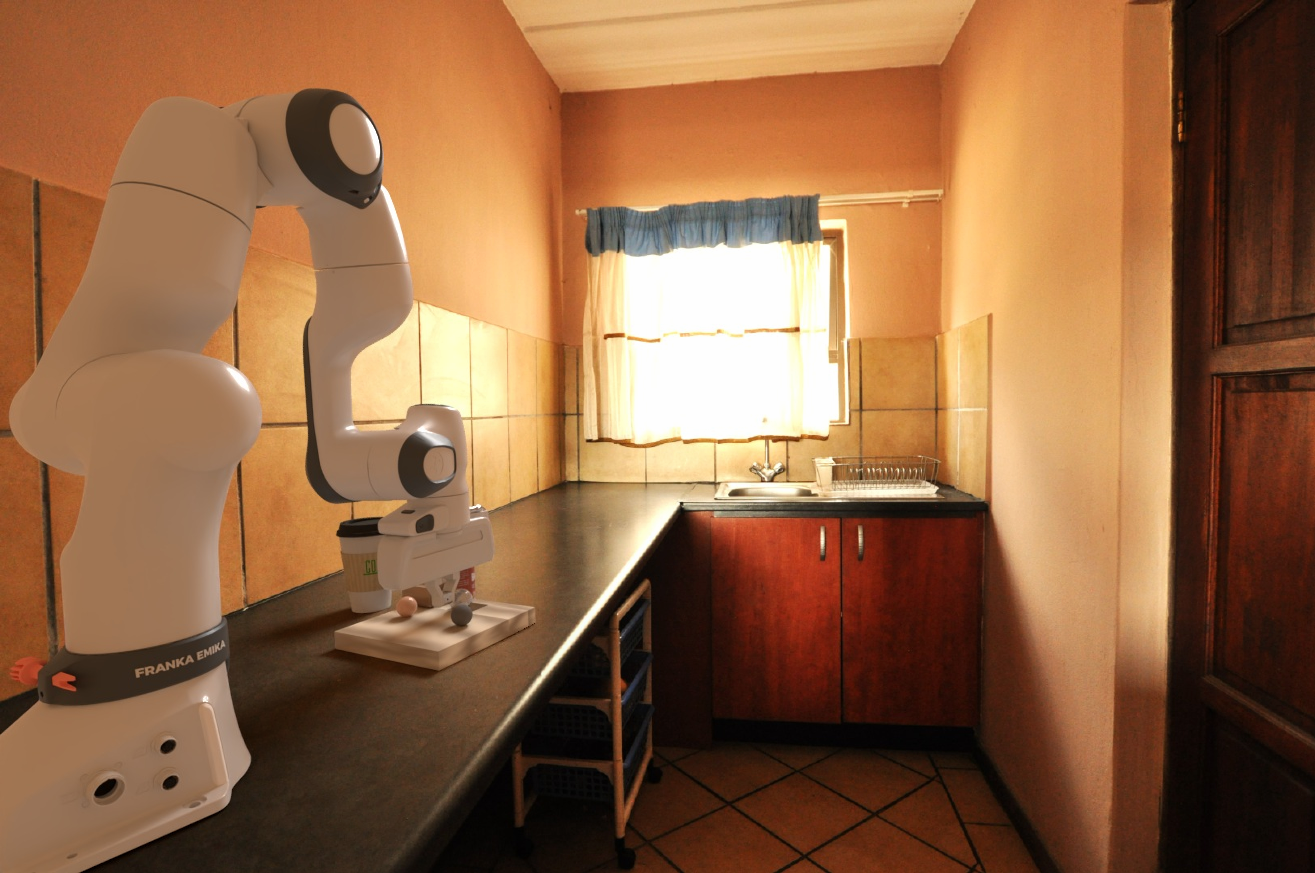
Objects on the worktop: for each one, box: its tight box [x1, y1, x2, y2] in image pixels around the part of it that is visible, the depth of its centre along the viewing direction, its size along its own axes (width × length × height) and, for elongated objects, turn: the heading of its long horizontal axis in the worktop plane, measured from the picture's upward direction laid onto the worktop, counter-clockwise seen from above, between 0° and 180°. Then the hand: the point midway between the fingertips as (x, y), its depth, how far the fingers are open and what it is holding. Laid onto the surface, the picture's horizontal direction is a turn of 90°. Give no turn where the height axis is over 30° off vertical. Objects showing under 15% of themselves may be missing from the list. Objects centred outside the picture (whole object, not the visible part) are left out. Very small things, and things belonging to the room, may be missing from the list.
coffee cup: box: [335, 516, 393, 614], centre depth 113 cm, size 10×10×15 cm
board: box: [334, 598, 537, 671], centre depth 98 cm, size 20×20×2 cm
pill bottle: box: [457, 566, 477, 599], centre depth 115 cm, size 6×6×11 cm
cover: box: [401, 577, 458, 607], centre depth 107 cm, size 6×6×4 cm
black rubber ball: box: [451, 604, 473, 626], centre depth 94 cm, size 3×3×3 cm
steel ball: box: [450, 588, 473, 609], centre depth 102 cm, size 4×4×4 cm
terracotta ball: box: [395, 596, 417, 617], centre depth 99 cm, size 3×3×3 cm
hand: (443, 604), depth 99 cm, fingers closed
